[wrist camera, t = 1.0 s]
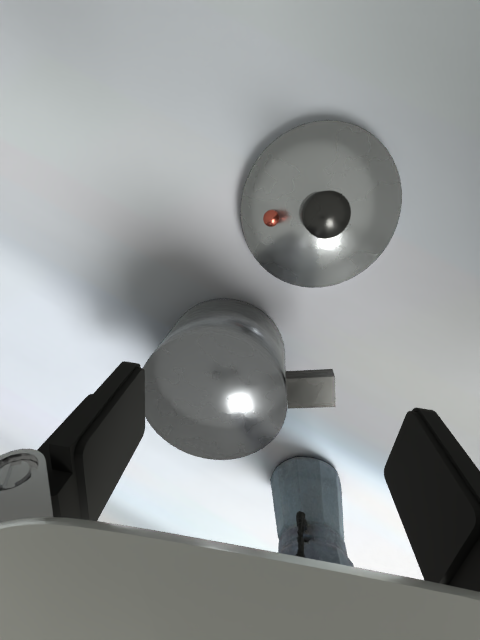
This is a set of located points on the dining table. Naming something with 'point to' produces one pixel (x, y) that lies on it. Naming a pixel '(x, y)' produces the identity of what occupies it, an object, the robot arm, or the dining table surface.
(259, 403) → the cooker pot
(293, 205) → the lid
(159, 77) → the dining table surface
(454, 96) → the dining table surface
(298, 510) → the moka pot
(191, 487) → the dining table surface
